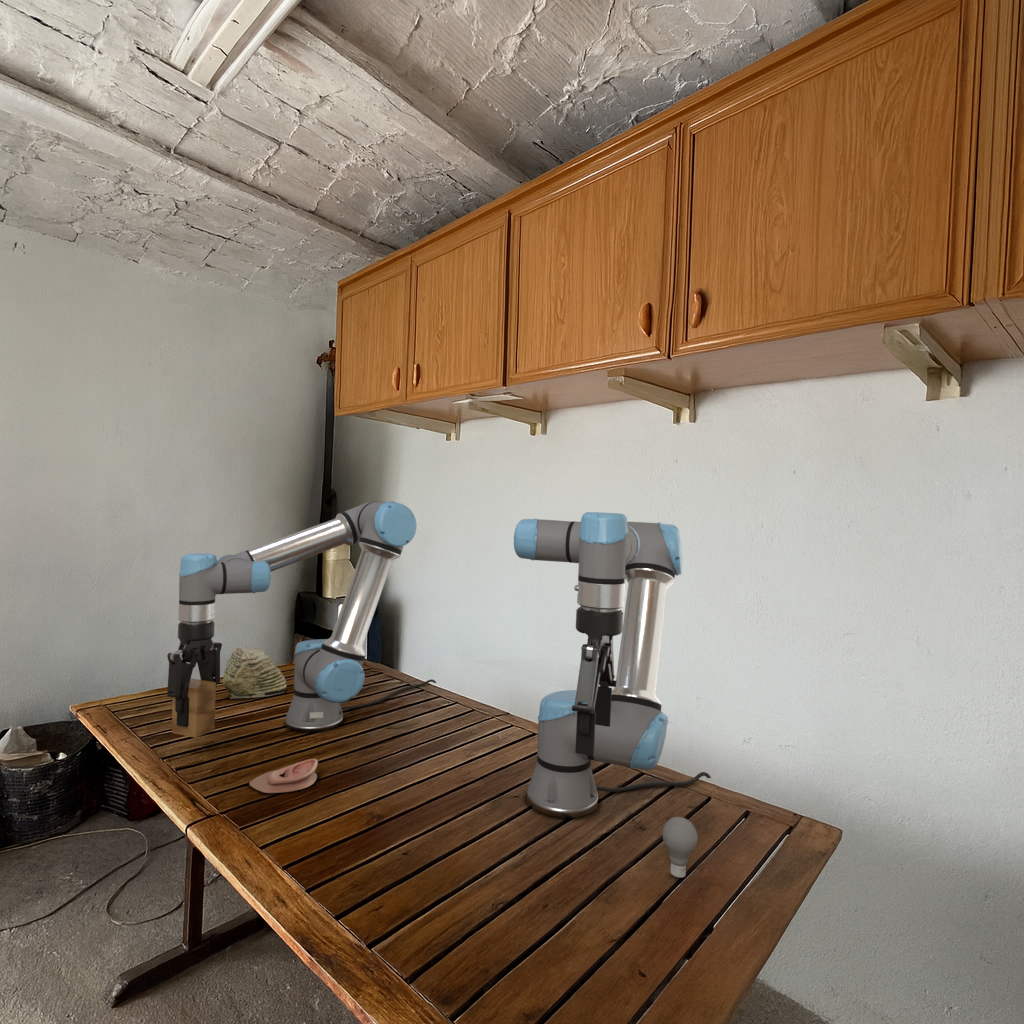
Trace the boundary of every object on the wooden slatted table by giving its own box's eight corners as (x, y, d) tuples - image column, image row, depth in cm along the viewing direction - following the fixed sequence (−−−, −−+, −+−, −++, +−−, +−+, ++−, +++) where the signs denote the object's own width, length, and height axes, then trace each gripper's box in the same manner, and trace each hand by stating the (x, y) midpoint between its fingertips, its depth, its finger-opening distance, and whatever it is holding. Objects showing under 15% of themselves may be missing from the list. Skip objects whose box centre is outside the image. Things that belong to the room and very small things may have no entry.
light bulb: (655, 865, 113) (658, 810, 113) (688, 865, 114) (691, 810, 114) (666, 886, 107) (669, 827, 107) (701, 886, 108) (704, 827, 108)
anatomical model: (241, 770, 135) (272, 750, 146) (240, 789, 135) (271, 767, 146) (297, 779, 132) (324, 757, 144) (297, 798, 132) (324, 775, 144)
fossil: (218, 695, 195) (220, 647, 195) (278, 685, 208) (279, 640, 207) (228, 703, 189) (230, 653, 188) (289, 692, 201) (290, 645, 201)
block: (190, 725, 150) (192, 678, 150) (214, 729, 148) (216, 682, 147) (171, 732, 145) (172, 684, 144) (195, 738, 142) (197, 688, 142)
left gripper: (215, 613, 156) (212, 706, 156) (149, 626, 138) (146, 732, 139) (239, 616, 153) (236, 711, 154) (175, 630, 136) (172, 737, 136)
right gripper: (593, 595, 115) (587, 711, 115) (557, 617, 92) (550, 763, 92) (634, 599, 113) (628, 718, 113) (608, 623, 89) (601, 772, 89)
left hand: (193, 721), depth 146 cm, fingers closed on block, 5 cm apart
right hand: (593, 738), depth 102 cm, fingers open, 13 cm apart
